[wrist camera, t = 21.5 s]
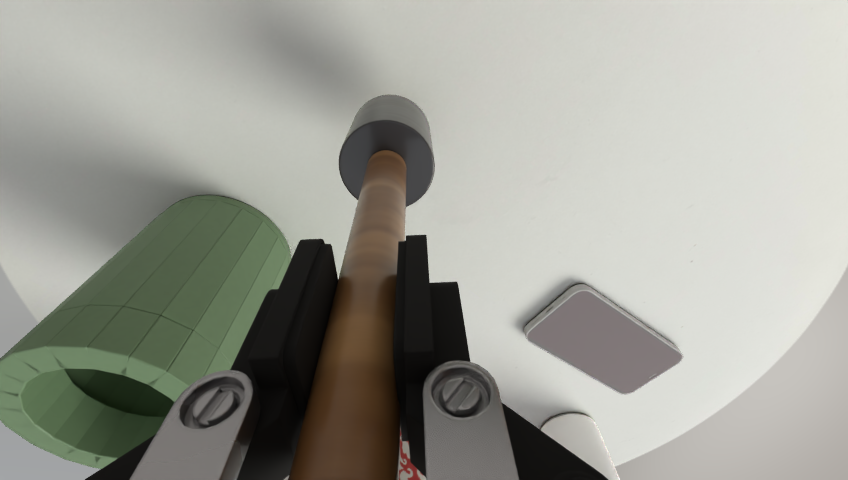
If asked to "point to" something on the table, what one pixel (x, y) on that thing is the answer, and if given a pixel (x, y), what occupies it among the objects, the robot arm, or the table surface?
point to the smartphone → (602, 340)
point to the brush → (366, 301)
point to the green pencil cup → (142, 331)
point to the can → (582, 441)
